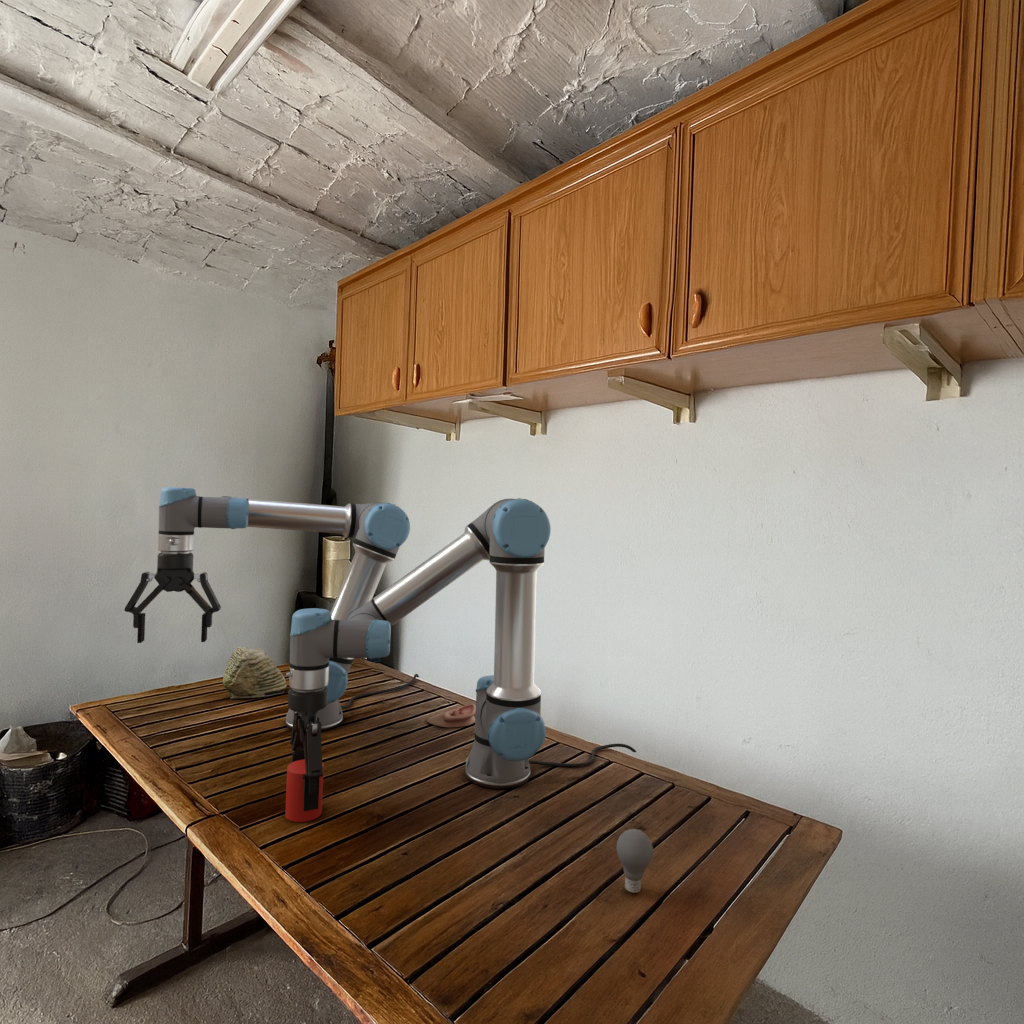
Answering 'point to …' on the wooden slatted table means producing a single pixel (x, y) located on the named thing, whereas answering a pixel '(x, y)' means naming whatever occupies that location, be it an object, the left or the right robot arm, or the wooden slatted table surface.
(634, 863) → the light bulb
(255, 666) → the fossil
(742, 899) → the wooden slatted table surface
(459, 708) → the anatomical model
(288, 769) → the cylinder
